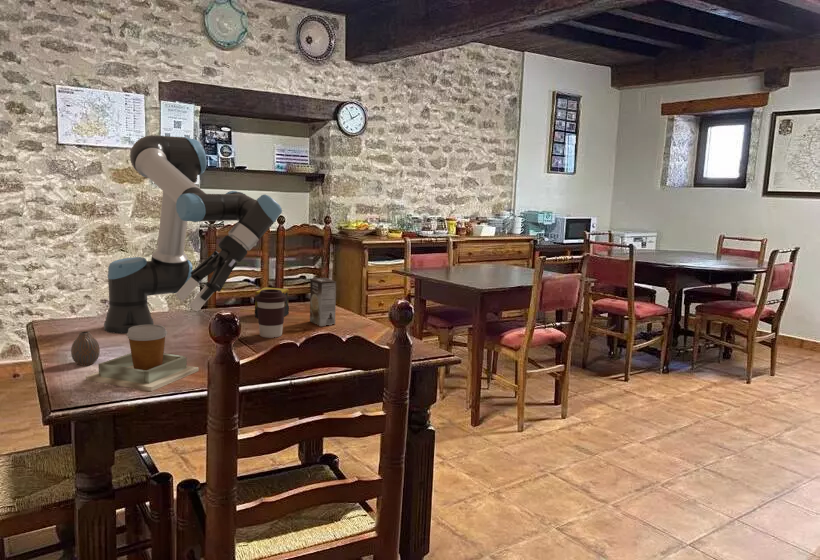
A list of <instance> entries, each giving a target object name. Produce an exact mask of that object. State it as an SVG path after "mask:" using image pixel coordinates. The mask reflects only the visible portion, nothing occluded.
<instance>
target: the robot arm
mask: <svg viewBox="0 0 820 560" xmlns="http://www.w3.org/2000/svg"><path fill="white" fill-rule="evenodd" d="M129 159H130V163H131V165H132V167H133V169H134V171H136V172H137V173H138V174H139V175H141V176H142V177H144V178H147V179H150V181H151V182H153V183H154V184H155V185H156V186H157V187H158V188H159V189H160V190H161V191H162V199H161V207H160V208H161V209H160V219H159V227H158V237H157V248H156V250H154V251H153V252H152V253H151V259H150V260H147V259H146V258H145V257H142V256H135V257H125V258H121V259H117V260H116V259H115V260H114V261H112V262H110V263H109V265H108V266H107V267H108V268H107V269H108V270H107V282H108V283H107V284H108V303H109V305H108V310H107V312H106V313H107V314H106V318H105V321H104V323H103V328H104V329H103V330H104V331H105V332H107V333H111V334H120V335H121V334H127V333H128V329H129V328H131V327H133V326H138V325H155V324H154V318H152V314H151V311H150V309H149V305H148V296H155V295H156V296H158V295H167V294H173V295H175V297H177V298H178V299H179V300H180V301H182V302H184V301H185V300H186V299H187V298H188V297H189V296H190V294H191V293H192V292H193V291H194V290H195V288H197V286H198V285H199V284H201V283H202V280H203V279H205V278H207V276H209V275H210V274H211V277H210V279H209V282H206V283H205V284H204V287H202V289H201V290H200V291H199V292H198V293H197V295H196V296H195V297H194V298H193V299H192V300H191V302H190V303H189V304H188V306H189V307H191V308H192V309H193V310H194V311H196V313H198V312H199V311H200V309H201V308H202V307H203V306H204V305H205V304H206V303H207V301H208V300H209V299H210V298H211V296H213V294H214V293H216V292H221V291H222V289H223V288H224V285H225V284H226V282H227V280H228V279H229V276H230V275H231V274H232V272H233V270H234V269H235V268H236V266H237V265H238V263H239V262H242V260H243V259H245V257H246V256H247V255H248V251H251V250H252V249H253V247H256V246H257V243H258V241H260V239H261V238H262V237H263V236H264V235H265V234H266V233H267V232H268V230H269V229H270V228H271V227H272V226H273V224H275V223H276V221H277V220H278V219H279V217H280V215H282V213H283V210H282V209H283V208H282V207H281V205H280V204H279V203H278V202H277V201H276V200H275V199H273V197H271V196H269V195H268V194H261V195H260V196H259V197H257V198H256V199H255V198H252V197H251V196H249V195H246V194H245V193H244V192H241V191H237V190H230V191H228V192H226V193H206V192H205V191H203V190H202V189H201V188H200V187H199V186H197V184H196V183H197V182H198V176H201V175H203V174H204V173H205V171H206V168H207V163H208V161H207V153H206V150H205V148H204V147H203V145H202V143H201V142H200V141H199V140H198V139H194V138H190V137H186V136H167V135H158V134H157V135H156V134H155V135H154V134H152V135H146V136H143V137H141V138H139V139H138V140H137V141H135V143H134V144H133V145H132V147H131V149H130V153H129ZM227 221H228V222H230V221H237V222H236V223H235V224H234V226H232V228H231V229H230V230H229V231H228V233H227V234H228V235H225V236H224V237H223V238H222V239H221V240H220V241H219V242H218V248H220V249H221V250H220V251H219V252H218V251H217V250H214V251H213V252H212V254H210V256H208V257H207V258H206V259H204V260H203V261H202V262H201V263H200V264H198V265H197V266H196V267H195V268H194V267H193V263H192V262H191V261H190V260H189V259H188V258H189V257H188V255H187V254H186V253H185V248H186V247H185V245H186V236H187V228H188V222H193V223H198V222H227ZM193 268H194V269H193Z"/></svg>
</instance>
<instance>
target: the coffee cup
mask: <svg viewBox="0 0 820 560" xmlns="http://www.w3.org/2000/svg"><path fill="white" fill-rule="evenodd" d="M260 290H261V289H260ZM254 297H255V298H254V299H255V300H256V301H257V303H258V306H257V313H258V318H257V323H258V328H259V329H258V331H259V332H258V333H259V336H260V337H262V338H268V339H273V338H274V337H275V338H279V337H281V336H282V335H283V328H284V327H283V326H284V322H285V321H284V319H285V317H284V311H285V306H284V302H285V301H286V295H284V294H283V293H282V291H281V290H276V289H266V290H261V291H260V293H259V294H258V295H256V296H254Z"/></svg>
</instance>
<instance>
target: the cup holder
mask: <svg viewBox="0 0 820 560" xmlns="http://www.w3.org/2000/svg"><path fill="white" fill-rule="evenodd" d="M187 359H188V358H187V356H185V355H179V354H174V353H172V354H171V353H163V363H162V365H160V366H157V367H154V368H152V369H149V370H147V371H146V370H140V369H134V366H133V361H132V355H131V352H130V353H127V354H124V355H121V356H118V357H115V358H112V359H108V360H106V361H103V362H100V363H98V371H97V372H94V373H91V374H88V375H86V376H85V381H87V382H95V383H99V384H106V385H113V386H117V387H125V388H131V389H135V390H142V391H147V392H148V391H149V392H154V391H155V390H158V389H160V388H162V387H165V386H167V385H169V384H171V383H174V382H176V381H178V380H180V379H183V378H186V377H188V376H190V375H192V374H195V373H197V372H199V371H200V370H199V367H197V366H192V365H187V362H188V361H187Z"/></svg>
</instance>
